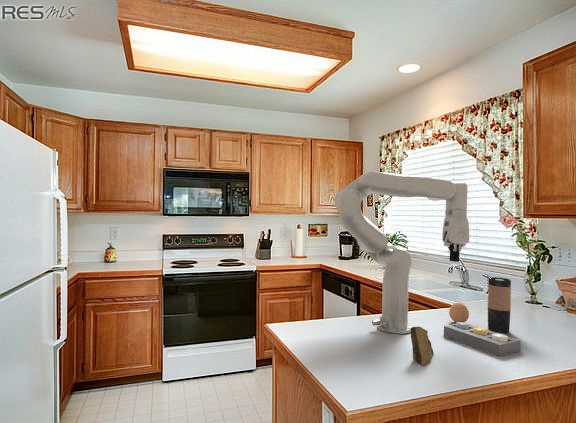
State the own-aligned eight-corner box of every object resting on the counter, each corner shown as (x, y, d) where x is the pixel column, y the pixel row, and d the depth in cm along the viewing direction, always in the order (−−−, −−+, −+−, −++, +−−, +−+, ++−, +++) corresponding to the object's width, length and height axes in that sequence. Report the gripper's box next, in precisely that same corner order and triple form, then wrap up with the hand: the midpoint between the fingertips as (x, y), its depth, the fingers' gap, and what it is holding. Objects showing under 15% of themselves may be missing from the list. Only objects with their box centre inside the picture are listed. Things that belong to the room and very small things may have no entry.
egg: (471, 326, 146) (472, 304, 146) (452, 325, 147) (452, 303, 147) (464, 321, 154) (465, 300, 154) (446, 320, 154) (447, 299, 154)
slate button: (463, 335, 130) (463, 326, 130) (453, 331, 134) (453, 322, 134) (471, 333, 132) (472, 324, 132) (461, 330, 136) (461, 321, 136)
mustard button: (481, 341, 124) (482, 332, 124) (470, 337, 128) (470, 328, 128) (490, 339, 126) (490, 330, 126) (478, 335, 130) (478, 326, 130)
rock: (423, 342, 119) (398, 340, 116) (438, 325, 115) (412, 323, 111) (440, 373, 111) (414, 373, 107) (457, 357, 107) (430, 356, 103)
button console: (499, 356, 115) (499, 344, 115) (443, 335, 134) (443, 325, 134) (520, 351, 120) (520, 340, 120) (464, 332, 138) (464, 322, 139)
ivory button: (502, 348, 117) (502, 338, 117) (489, 344, 121) (489, 334, 121) (510, 346, 119) (510, 336, 119) (497, 342, 123) (497, 332, 123)
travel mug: (513, 334, 137) (514, 281, 137) (491, 332, 138) (492, 279, 139) (505, 328, 144) (506, 277, 145) (484, 326, 146) (485, 276, 146)
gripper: (450, 213, 136) (448, 263, 135) (477, 215, 142) (476, 262, 142) (434, 213, 142) (432, 260, 142) (461, 214, 149) (459, 259, 149)
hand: (454, 261), depth 142 cm, fingers closed
